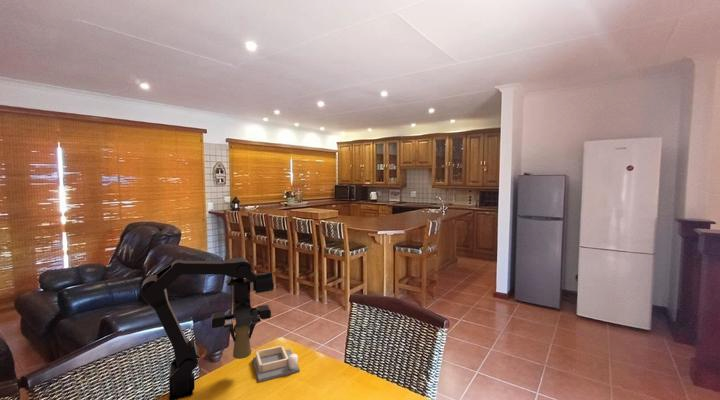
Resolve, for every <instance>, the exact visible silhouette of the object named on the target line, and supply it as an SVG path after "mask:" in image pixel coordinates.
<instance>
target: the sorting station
mask: <svg viewBox="0 0 720 400" xmlns="http://www.w3.org/2000/svg"><path fill="white" fill-rule="evenodd" d="M298 359H299V355H298V354H296V353H292V350H291V348H289V349H285V347H284V345H277V346H273V347H269V348H263V349H260V350H256V351H255V356H254V357H252V362H253V365H254V370H255V373H256V377H257V381H258V383H260V382H264V381H268V380H273V379H276V378H280V377H285V376H288V375H292V374H295V373H296V374H297V373H300V372H301V370H300V367H299V365H298V364H299V363H298V362H299V360H298Z"/></svg>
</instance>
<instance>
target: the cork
mask: <svg viewBox="0 0 720 400" xmlns="http://www.w3.org/2000/svg"><path fill="white" fill-rule="evenodd" d="M233 328H234V334H235V342H234V341H233V342H234V343H233V350H232V351H233V352H232V357H233V358H234V359H238V360H241V359H246V358H248V357H250V356H251V354H252V348H251V342H250V340H251V339H249V330H250V325H244V326H241V327H237V326H236V323H235V324H234V325H233Z"/></svg>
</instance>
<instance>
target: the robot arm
mask: <svg viewBox="0 0 720 400" xmlns="http://www.w3.org/2000/svg"><path fill="white" fill-rule="evenodd" d="M272 274H273V273H272V272H271V271H266V272H262V273H261V272H260V273H255V271H254V270H252V265H251V263H250V262H249V261H248V259H246V258H245V257H243V256H241V257H233V258H229V259H225V260H183V259H176V260H174V261H173V262H171V264H169V265H168V266H166V267H164V268H163V269H161V270H160V271H158V272H157V273H156V274H151V275H149V276H147V277H146V278H144V280H143V282H142V284H141V288H140V296H141V297H142V298H143V299H144V301H145V302H146V303H147V304H148V306H150V307H151V308H152V309H153V310H154V311H155V313H156V315H157V317H158V319H159V321H160V324H161V326H162V327H163V329H164V332H165V334H166V336H167V338H168V340H169V342H170V344H171V347H172V349H173V353H174V359H173V360H172V361H171V362H170V365H169V367H170V368H169V377H168V382H169V383H168V384H169V387H168V388H169V390H168V391H169V395H168V400H180V399H184V398H188V397H192V395H194V390H195V372H193V371H194V370H195V369H196V368H197V366H198V365H199V358H200V351H199V350H200V349H199V346H198V345H197V344H196V342H195V338H192V339H188V338H187V337H186V335H185V333H184V331H183V328H182V327H181V325H180V322H179V320H178V318H177V316H176V314H175V311H174V310H173V308H172V305H171V303H170V301H169V297H168V296H169V295H168V291H167V289H168V287H170V286H171V285H172V283H174V282H175V281H176V280H177V279H178V278H179V277H180V276H183V275H185V276H187V275H190V276H191V275H192V276H193V275H194V276H195V275H197V276H198V275H204V276H205V275H222V276H227V277H229V278H228V279H227V280H226V281H225V282H226V283H225V284H226V285H227V287H229V286H232V287H231V289H232V313H229V314H225V311H220V312H213V313H212V314H211V319H210V320H211V328H212V329H216V328H221V327H223V328H224V329H227V330H228V331H229V333H230V336H231V339H232V341H233V342H235V332H234V324H233V321H235V324H236V326H237V327H241V326H244V325H250V330H249V332H248V333H249V340H251V338H252V335H253V332H254V329H255V327H256V325H257V324H258V323H261V320H267V319H271V318H272V310H271V308H270V306H269V304H265V305H258V306H257V307H252V306H251V291H252V292H255V294H263V293H269V292H273V291H274V287H275V285H274V278H273V275H272Z"/></svg>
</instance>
